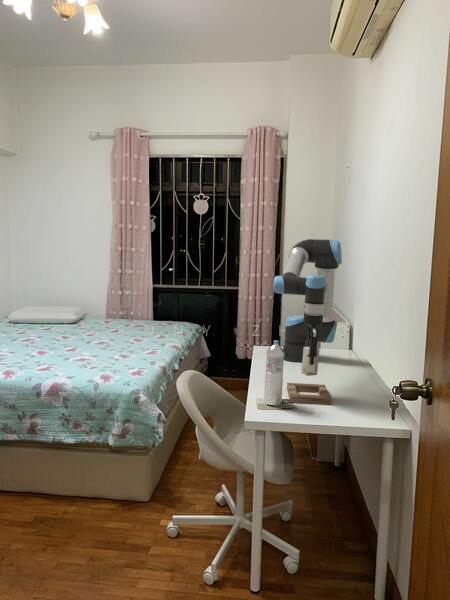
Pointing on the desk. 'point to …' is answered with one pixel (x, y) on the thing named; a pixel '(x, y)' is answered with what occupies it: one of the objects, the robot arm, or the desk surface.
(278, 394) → the water bottle
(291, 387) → the socket
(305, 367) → the box
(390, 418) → the desk surface
